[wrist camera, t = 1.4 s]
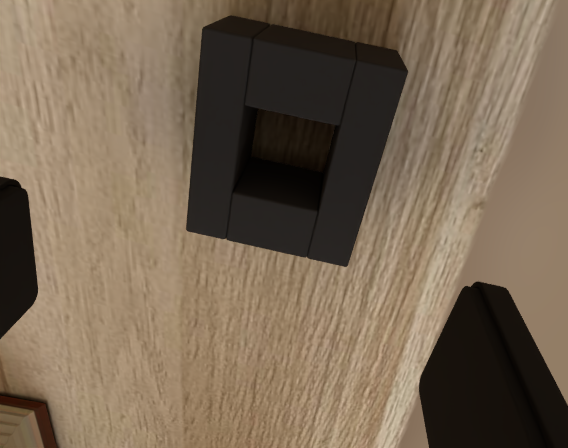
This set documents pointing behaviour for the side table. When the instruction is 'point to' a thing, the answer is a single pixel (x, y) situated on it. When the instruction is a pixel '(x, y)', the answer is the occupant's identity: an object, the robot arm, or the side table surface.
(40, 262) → the side table surface
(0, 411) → the book
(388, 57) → the small black rectangular frame
